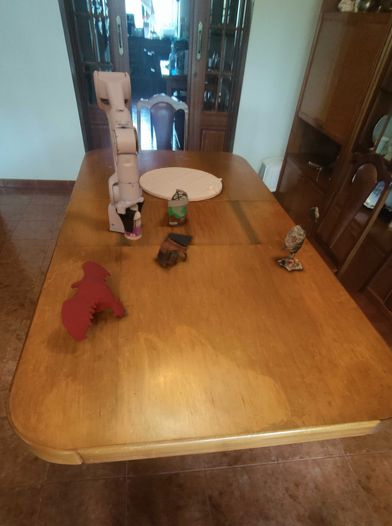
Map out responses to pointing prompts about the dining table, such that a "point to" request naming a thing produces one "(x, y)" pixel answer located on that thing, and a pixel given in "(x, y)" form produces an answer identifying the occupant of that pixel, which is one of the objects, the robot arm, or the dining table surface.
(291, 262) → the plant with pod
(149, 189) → the lazy susan
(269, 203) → the dining table surface
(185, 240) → the coaster
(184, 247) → the pottery mug
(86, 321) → the red lobster claw
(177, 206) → the food container
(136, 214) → the pill bottle
